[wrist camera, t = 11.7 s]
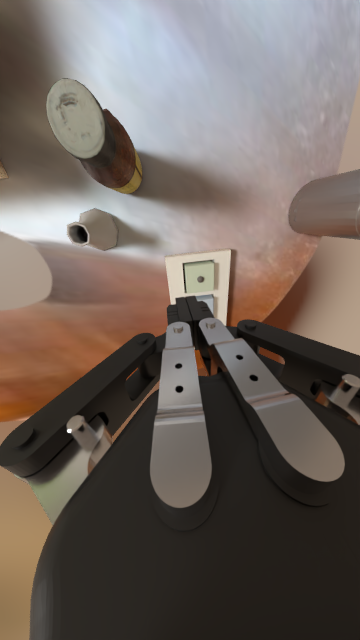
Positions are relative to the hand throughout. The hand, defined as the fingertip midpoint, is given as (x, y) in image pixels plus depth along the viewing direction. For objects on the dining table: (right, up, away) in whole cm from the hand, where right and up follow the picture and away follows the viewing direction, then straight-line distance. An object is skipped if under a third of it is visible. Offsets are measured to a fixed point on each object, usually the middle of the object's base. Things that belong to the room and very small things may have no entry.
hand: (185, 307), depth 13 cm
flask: (-16, +17, +20) cm, 31 cm away
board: (+4, +3, +31) cm, 31 cm away
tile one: (+4, +10, +26) cm, 28 cm away
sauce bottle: (-10, +24, +16) cm, 31 cm away
